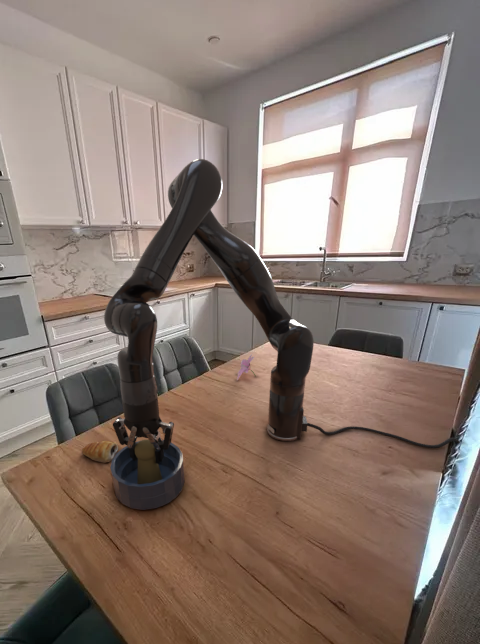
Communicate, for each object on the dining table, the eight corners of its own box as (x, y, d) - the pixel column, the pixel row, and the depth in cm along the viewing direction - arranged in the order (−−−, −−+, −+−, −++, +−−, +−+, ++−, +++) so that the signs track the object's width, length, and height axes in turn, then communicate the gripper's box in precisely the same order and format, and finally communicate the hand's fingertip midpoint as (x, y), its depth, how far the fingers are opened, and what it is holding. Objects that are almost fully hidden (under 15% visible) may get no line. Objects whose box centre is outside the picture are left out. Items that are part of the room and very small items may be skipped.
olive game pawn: (158, 492, 71) (153, 452, 67) (133, 489, 73) (127, 450, 69) (165, 474, 77) (161, 436, 73) (142, 471, 78) (137, 434, 74)
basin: (191, 465, 81) (190, 442, 78) (173, 516, 66) (171, 491, 63) (131, 457, 84) (128, 436, 82) (102, 505, 69) (97, 480, 67)
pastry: (78, 460, 84) (75, 448, 83) (90, 445, 90) (88, 434, 89) (110, 464, 82) (108, 452, 81) (120, 448, 88) (119, 437, 87)
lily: (244, 371, 138) (234, 354, 134) (268, 365, 130) (258, 347, 127) (236, 389, 130) (225, 372, 126) (261, 384, 122) (250, 366, 118)
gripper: (100, 401, 64) (111, 467, 71) (166, 406, 61) (172, 475, 67) (116, 385, 71) (125, 447, 77) (176, 389, 68) (181, 453, 74)
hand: (147, 459), depth 72 cm, fingers closed on olive game pawn, 5 cm apart
